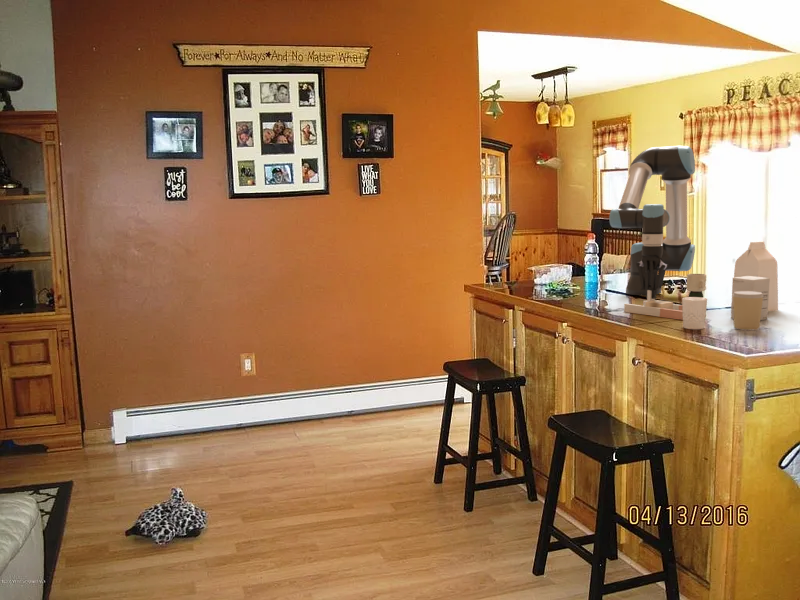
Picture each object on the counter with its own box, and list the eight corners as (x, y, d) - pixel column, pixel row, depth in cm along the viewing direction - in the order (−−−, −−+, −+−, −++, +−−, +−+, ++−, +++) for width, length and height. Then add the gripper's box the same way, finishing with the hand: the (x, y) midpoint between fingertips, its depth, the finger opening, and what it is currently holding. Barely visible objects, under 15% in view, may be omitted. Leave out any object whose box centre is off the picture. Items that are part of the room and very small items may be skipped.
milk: (756, 312, 289) (759, 243, 286) (730, 309, 299) (733, 241, 296) (778, 310, 295) (781, 241, 291) (752, 306, 305) (754, 240, 301)
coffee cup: (760, 326, 263) (761, 291, 261) (763, 331, 254) (765, 294, 252) (730, 325, 266) (731, 290, 264) (732, 330, 257) (734, 294, 255)
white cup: (677, 326, 266) (678, 297, 265) (699, 325, 267) (700, 296, 265) (687, 330, 258) (688, 300, 257) (710, 329, 259) (711, 299, 258)
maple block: (645, 313, 293) (645, 302, 293) (657, 311, 297) (657, 300, 297) (661, 315, 288) (661, 304, 287) (672, 313, 292) (673, 302, 291)
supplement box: (729, 318, 279) (731, 277, 277) (746, 316, 283) (747, 275, 281) (752, 322, 271) (753, 279, 269) (768, 319, 275) (770, 277, 273)
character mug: (710, 309, 300) (712, 275, 298) (693, 309, 300) (694, 276, 298) (697, 304, 311) (699, 272, 309) (680, 305, 310) (681, 273, 308)
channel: (624, 311, 298) (624, 303, 298) (645, 308, 306) (645, 300, 305) (683, 320, 278) (683, 311, 277) (704, 315, 285) (705, 307, 285)
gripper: (631, 244, 296) (630, 306, 299) (660, 246, 285) (659, 309, 288) (644, 243, 300) (642, 304, 303) (673, 245, 289) (671, 307, 293)
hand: (650, 306), depth 296 cm, fingers closed
